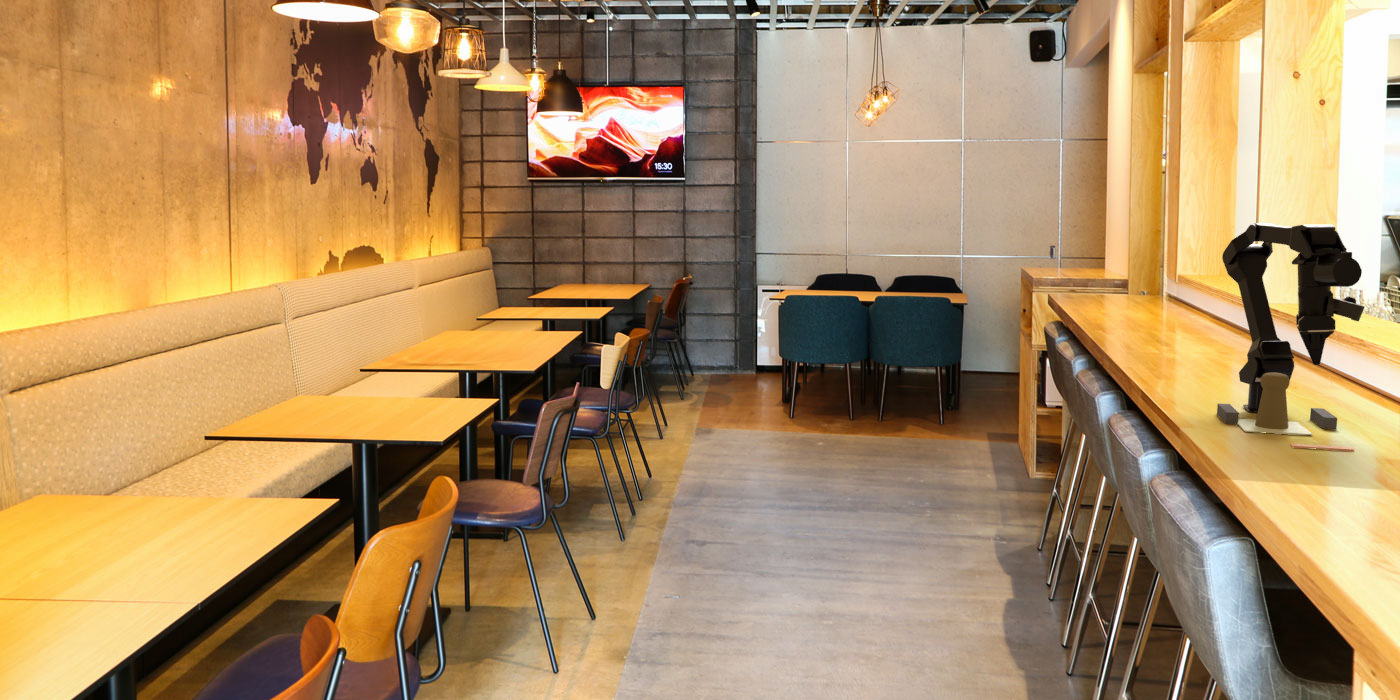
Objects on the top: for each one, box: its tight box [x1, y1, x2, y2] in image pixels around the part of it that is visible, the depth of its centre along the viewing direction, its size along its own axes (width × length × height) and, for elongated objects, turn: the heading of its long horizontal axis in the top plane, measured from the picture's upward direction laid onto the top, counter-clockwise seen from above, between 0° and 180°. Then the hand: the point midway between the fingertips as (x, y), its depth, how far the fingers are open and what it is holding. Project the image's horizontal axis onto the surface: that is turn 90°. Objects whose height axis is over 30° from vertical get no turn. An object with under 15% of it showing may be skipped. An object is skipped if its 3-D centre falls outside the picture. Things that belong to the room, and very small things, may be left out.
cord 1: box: [1216, 403, 1240, 425], centre depth 218 cm, size 10×2×2 cm, turn 163°
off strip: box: [1290, 443, 1355, 453], centre depth 192 cm, size 2×10×1 cm, turn 73°
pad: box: [1236, 418, 1313, 437], centre depth 210 cm, size 12×12×1 cm
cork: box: [1255, 372, 1291, 429], centre depth 209 cm, size 6×6×11 cm
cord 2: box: [1309, 407, 1338, 430], centre depth 213 cm, size 10×2×2 cm, turn 163°
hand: (1315, 362), depth 210 cm, fingers open, 9 cm apart
